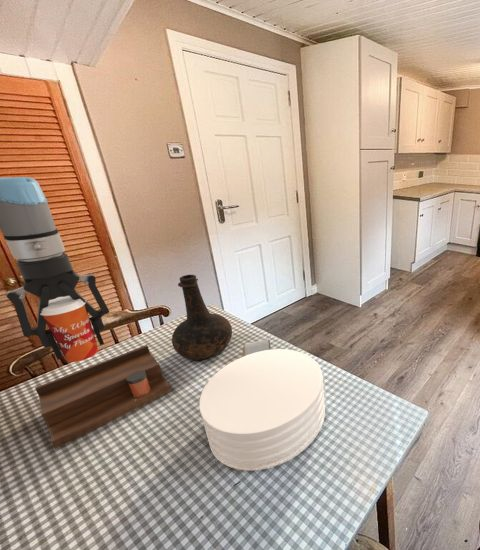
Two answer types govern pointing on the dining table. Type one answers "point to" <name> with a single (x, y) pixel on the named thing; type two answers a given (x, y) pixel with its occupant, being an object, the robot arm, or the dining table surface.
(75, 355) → the paper cup
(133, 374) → the small spice jar
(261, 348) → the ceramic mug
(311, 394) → the plate stack
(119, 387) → the spice rack
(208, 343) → the glass bottle
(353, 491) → the dining table surface
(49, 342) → the robot arm
